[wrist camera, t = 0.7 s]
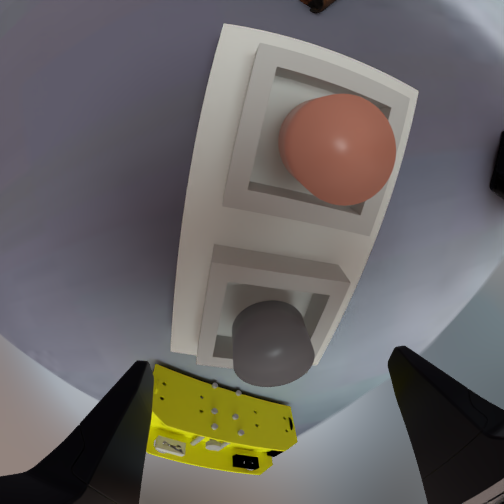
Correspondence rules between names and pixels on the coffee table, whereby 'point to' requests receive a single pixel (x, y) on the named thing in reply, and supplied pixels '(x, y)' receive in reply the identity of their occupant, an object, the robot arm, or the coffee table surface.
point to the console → (272, 195)
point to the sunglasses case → (317, 4)
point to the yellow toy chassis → (216, 425)
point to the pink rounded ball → (338, 148)
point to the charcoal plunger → (271, 344)
